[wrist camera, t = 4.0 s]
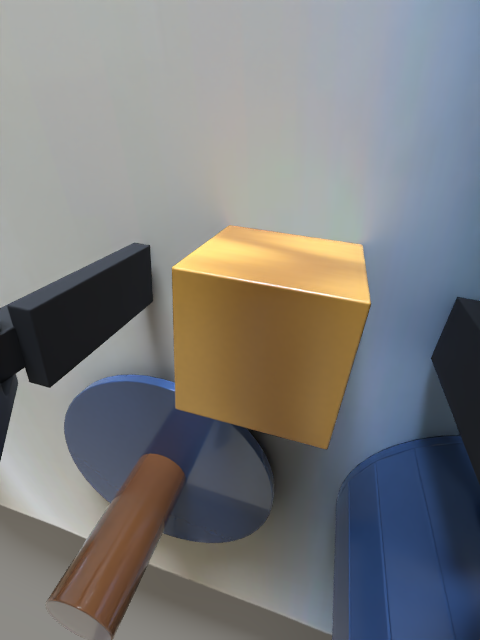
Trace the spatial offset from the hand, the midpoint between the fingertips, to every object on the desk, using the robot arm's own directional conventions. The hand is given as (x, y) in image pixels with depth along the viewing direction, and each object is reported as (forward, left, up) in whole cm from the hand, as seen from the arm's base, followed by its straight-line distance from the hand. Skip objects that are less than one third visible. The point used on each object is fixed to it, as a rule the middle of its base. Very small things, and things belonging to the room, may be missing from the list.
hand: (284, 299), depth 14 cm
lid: (+8, -11, 0) cm, 14 cm away
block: (0, 0, 0) cm, 0 cm away
